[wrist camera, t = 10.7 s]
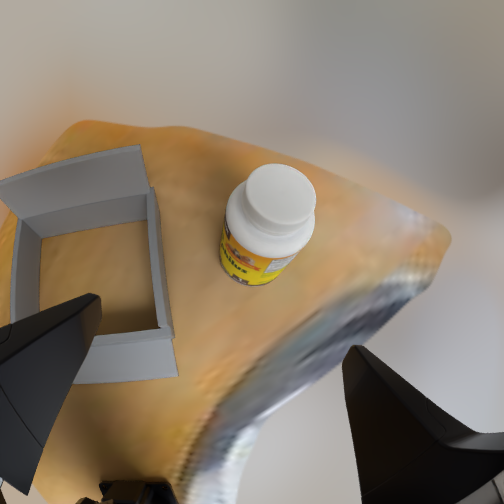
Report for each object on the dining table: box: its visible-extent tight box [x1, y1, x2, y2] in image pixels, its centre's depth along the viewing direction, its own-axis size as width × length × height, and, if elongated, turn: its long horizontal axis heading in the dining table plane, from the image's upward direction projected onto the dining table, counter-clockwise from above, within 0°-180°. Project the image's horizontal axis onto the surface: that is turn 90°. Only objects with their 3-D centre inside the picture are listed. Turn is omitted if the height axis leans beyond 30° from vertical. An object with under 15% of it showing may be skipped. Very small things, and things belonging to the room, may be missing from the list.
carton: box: [0, 144, 179, 384], centre depth 16 cm, size 14×13×9 cm
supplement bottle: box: [219, 163, 316, 287], centre depth 19 cm, size 6×6×10 cm
